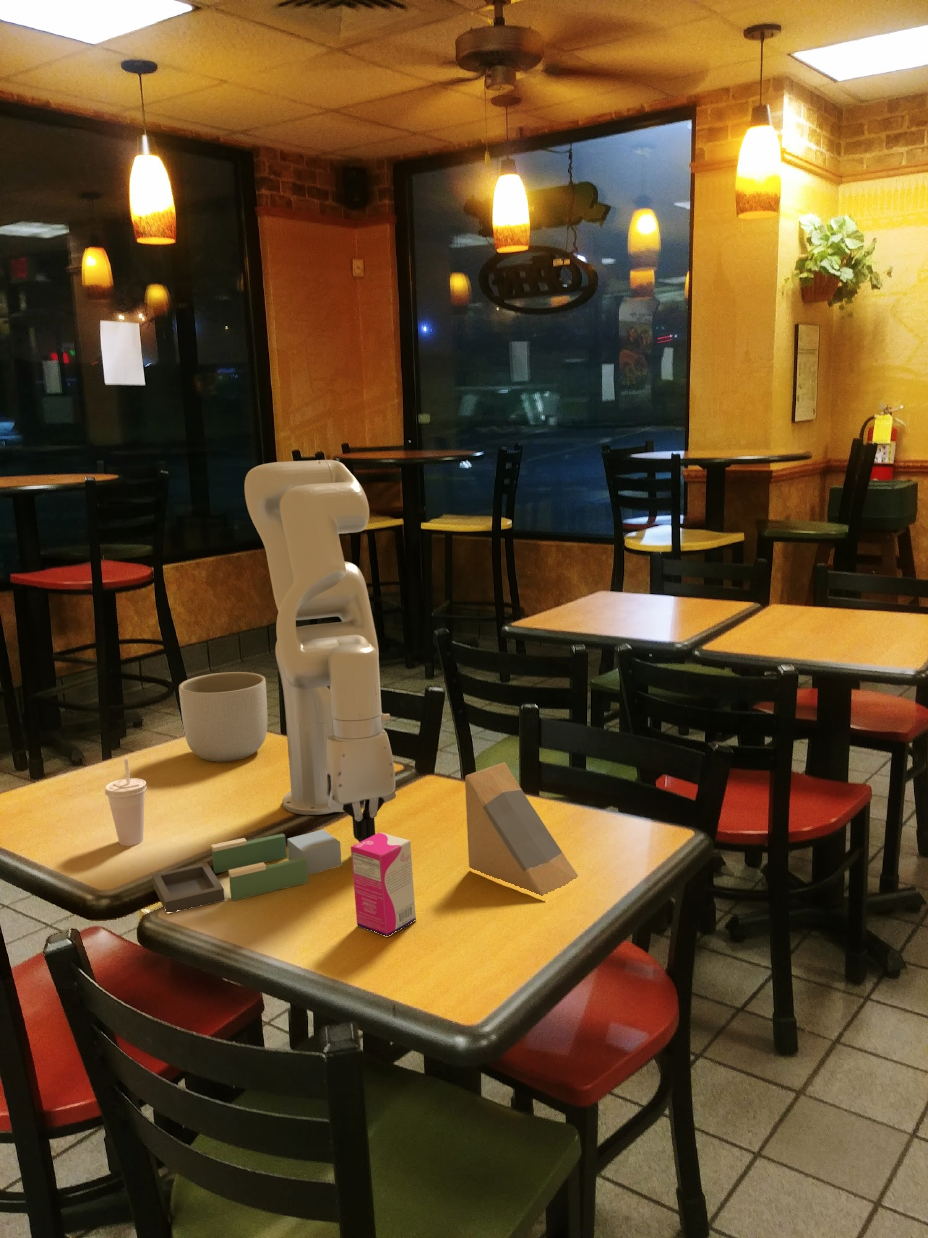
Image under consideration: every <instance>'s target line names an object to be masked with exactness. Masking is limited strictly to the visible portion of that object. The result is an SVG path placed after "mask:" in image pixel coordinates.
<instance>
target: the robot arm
mask: <svg viewBox="0 0 928 1238" xmlns="http://www.w3.org/2000/svg"><path fill="white" fill-rule="evenodd" d="M244 479H245V480H244V496H245V497H244V499H245V503H246V507H247V511H248V514H249V516H250V518H251V520H252V523H253V525H254V527H255V528H256V531H257V533H258V534H259V536H260V539H261V541H262V543H263V546H264V549H265V552H266V553H265V554H266V558H267V565H268V570H269V576H270V582H271V587H272V594H273V598H274V600H275V601H274V603H275V606H276V609H277V612H278V613H277V616H276V628H275V629H276V639H277V640H276V642H275V657H276V663H277V666H278V671H279V676H280V679H281V685H282V690H283V692H282V693H283V701H284V710H285V722H286V725H285V726H286V737H287V738H286V740H287V751H288V752H287V754H288V755H287V756H288V766H289V767H288V768H289V779H290V780H289V782H290V791H289V792H287V793H286V794H285V795H284V796H283V798H282V806H283V808H284V809H285V810H286V811H287V812H290V813H293V814H298V815H305V816H316V815H317V816H320V815H327V814H333V813H346V814H347V815H349V816H350V817H351V818H352V830H353V831H352V834H353V837H354V839H355V840H356V841H358V843H359V842H361V841H363V840H365V839H367V838H369V837H371V836H373V835H375V834H376V823H375V818H376V817H377V815H378V812H379V810H380V809H381V808H382V807H383V805H384V804H385V803H388V802H390V801H393V800H394V799H396V797H397V794H396V791H395V790H396V774H395V773H396V771H395V765H394V759H393V753H392V748H391V744H390V740H389V736H388V733H387V731H386V730H385V724H387V723H391V720H392V718H391V715H390V713H383V711H382V697H381V694H382V693H381V680H380V663H379V662H380V661H379V654H380V653H379V643H378V637H377V633H376V628H375V622H374V617H373V613H372V608H371V602H370V599H369V598H370V596H369V592H368V589H367V584H366V579H365V577H364V576H363V573H362V571H361V569H360V568H359V567H358V566H357V565H356V564H354V563H352V562H349V561H345V557H344V552H343V549H342V546H341V541H340V540H341V539H340V534H349V533H359V532H362V531H364V530H365V529H366V528H367V526H368V523H369V520H370V506H369V501H368V499H367V498H368V497H367V495H366V493H365V491H364V488H363V487H362V485H361V484H360V482H359V481H358V480H357V478H356V477H355V475H354V474H352V473H351V471H350V470H349V469H348V468H347V467H346V466H345V464H344V463H342V462H340V461H338V460H333V459H320V460H319V459H317V460H297V461H296V460H293V461H292V460H291V461H276V462H275V461H274V462H269V463H263V464H260V465H257V466H255V467H253V468H251V469H250V470H249V471H248V472H247V474H246V476H245V478H244ZM333 617H338V618H339V619H340V620H341V621H338V622H329V623H318V624H308V625H302V626H297V623H296V621H304V620H305V621H306V620H313V619H314V620H315V619H323V618H324V619H325V618H333ZM360 802H363V809H362V806H361V803H360Z"/></svg>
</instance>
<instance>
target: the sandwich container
mask: <svg viewBox="0 0 928 1238" xmlns="http://www.w3.org/2000/svg"><path fill="white" fill-rule="evenodd" d="M464 783H465V784H464V786H465V788H464V789H465V808H466V809H465V811H466V827H467V828H466V829H467V830H466V832H467V848H468V849H467V853H468V868H469V867H470V868H472V869H474V870H477V871H480V872H481V873H484V874H486V875H489V876H492V877H494V878H497V879H501V880H503V881H505V882H508V883H511V884H514V885H515V886H519V887H520V888H524V889H527V890H529V891H531V892H534V893H536V894H539V895H541V896H543V895H544V894H548V892H551V891H554V890H555V889H557V888H561V887H562V886H565V885H566V884H568V883H569V882H570V881H572V880H573V879H576V878H577V877H578V876H579V874H578V873H577V871H576V870H575V868H574V867H573V866H572V864H571V862H570V861H569V860H568V858H567V857H566V855H565V854H564V852H563V851H562V850H561V848H560V846H559V845H558V843H557V842H556V840H555V839H554V837H553V836H552V834H551V833H550V831H549V830H548V828H547V826H546V824H545V823H544V822H543V820H542V818H541V817H540V815H539V814H538V812H537V811H536V809H535V808H534V806H533V804H532V803H531V802H530V800H529V799H528V797H527V796H526V794H525V792H524V791H523V789H522V788H521V787H520V784H519V782H518V781H517V780H516V778H515V776H514V775H513V773H512V772H511V770H510V769H509V767H508V765H507V763H506V761H504V762H501V763H498V764H495V765H492V766H489V767H486V768H483V769H480V770H477V771H475V772H472V773H470V774H467V775H465V778H464Z"/></svg>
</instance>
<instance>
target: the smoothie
mask: <svg viewBox="0 0 928 1238" xmlns="http://www.w3.org/2000/svg"><path fill="white" fill-rule="evenodd" d="M123 761H124V771H125V778H122V779H117V780H113V781H112V782H110V783H108V784H106V786H105V787H104V794H105V796H107V798H108V802H109V803H108V804H109V806H110V810H111V814H112V820H113V822H114V823H113V824H114V827H115V830H116V831H115V833H116V835H117V838H118V840H117V841H118V842H119V843H118V844H119V845H120V846H121V847H122V846H123V847H132V846H136V845H140V843H142V842H143V841H144V831H145V829H144V825H145V823H144V822H145V800H146V799H145V795H146V793H145V791H146V790H147V781H146V780H144V779H142V778H137V777H133V778H132V777H131V776H130V767H129V766H130V765H129V758H124V760H123ZM130 777H131V778H130Z"/></svg>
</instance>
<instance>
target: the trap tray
mask: <svg viewBox="0 0 928 1238" xmlns="http://www.w3.org/2000/svg"><path fill="white" fill-rule="evenodd" d="M151 877H152V887H153V889H154V891H155V893H156V896H157V897H158V899H159V901H160V904H161V905H162V907H163V908H164V907H165V909H166V911H165V913H166V912H174V913H177V912H176V911H177V910H182V911H185V910H184V909H187V910H190V909H189V908H191V907H195V908H199V907H201V906H200V905H203V906H207V905H211V904H216V903H219V902H223V901H225V900H226V898H225V888H224V886H223V885H222V884H221V882H220V881H219V879H218V877H217V876H216V873H215V872H214V870H212V868H211V866H210V865H209V863H208V862H203V863H199V864H194V865H190V866H185V867H181V868H176V869H173V870H172V869H171V870H168V871H163V872H158V873H155V874H151ZM198 906H199V907H198ZM165 909H164V910H165ZM191 909H192V908H191Z"/></svg>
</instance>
